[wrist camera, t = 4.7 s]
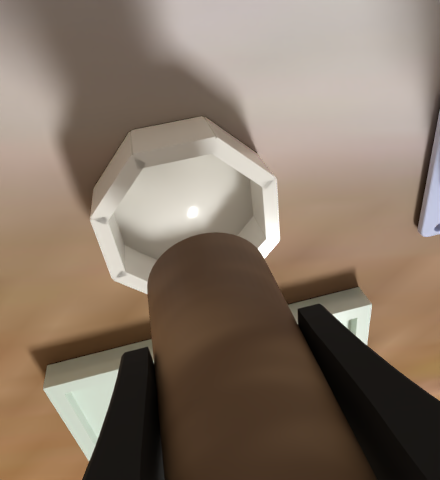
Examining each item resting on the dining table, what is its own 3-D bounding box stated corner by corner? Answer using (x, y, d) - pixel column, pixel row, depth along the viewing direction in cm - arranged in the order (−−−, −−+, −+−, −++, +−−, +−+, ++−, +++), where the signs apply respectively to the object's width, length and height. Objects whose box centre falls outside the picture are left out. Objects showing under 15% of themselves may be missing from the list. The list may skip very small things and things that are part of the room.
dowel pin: (262, 219, 12) (427, 499, 6) (270, 312, 15) (394, 587, 8) (133, 249, 12) (151, 586, 5) (161, 339, 14) (198, 651, 8)
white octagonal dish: (254, 105, 16) (274, 124, 14) (265, 247, 20) (281, 277, 18) (76, 141, 16) (69, 166, 14) (125, 280, 20) (125, 316, 18)
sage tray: (358, 286, 23) (371, 303, 22) (347, 404, 30) (357, 423, 29) (47, 365, 22) (42, 388, 20) (110, 471, 29) (110, 494, 27)
